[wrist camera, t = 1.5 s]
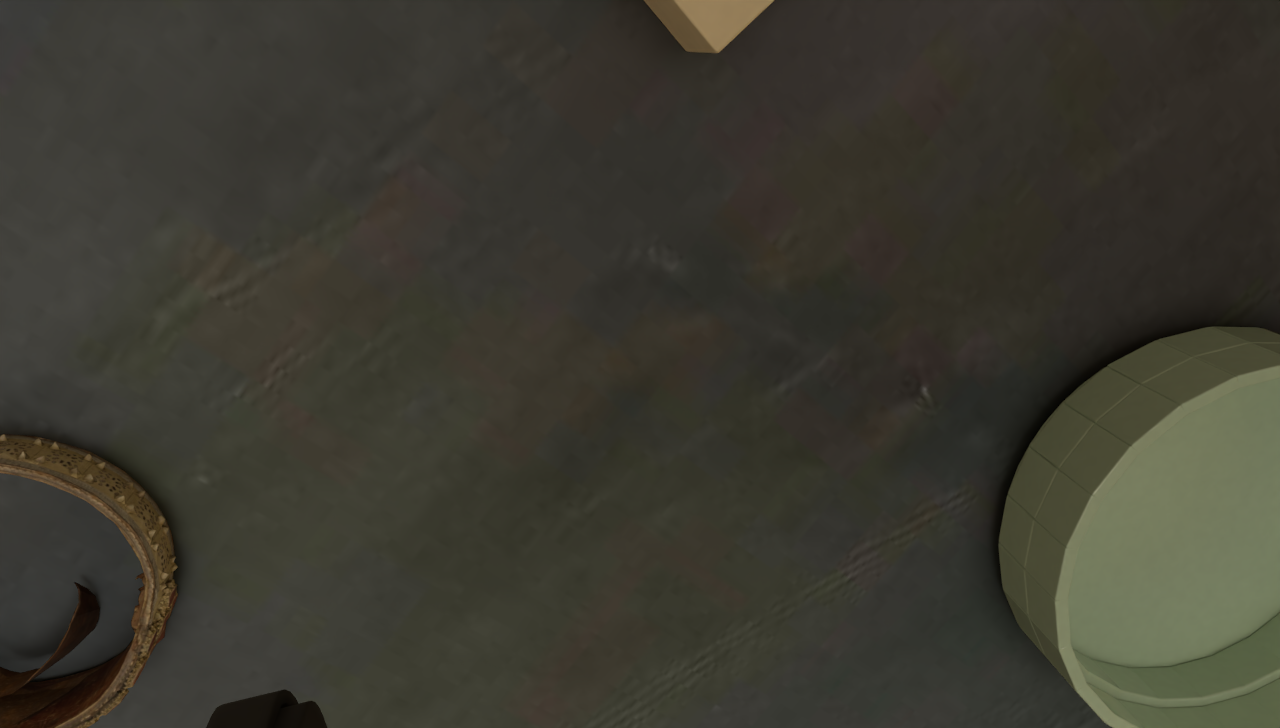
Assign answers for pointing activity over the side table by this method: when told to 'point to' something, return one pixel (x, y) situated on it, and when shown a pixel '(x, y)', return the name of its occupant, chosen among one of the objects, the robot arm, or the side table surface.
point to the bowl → (1158, 534)
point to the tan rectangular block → (706, 20)
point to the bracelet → (63, 708)
